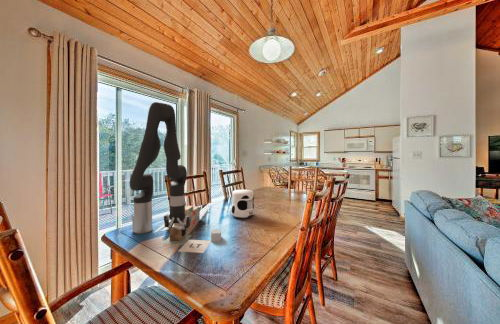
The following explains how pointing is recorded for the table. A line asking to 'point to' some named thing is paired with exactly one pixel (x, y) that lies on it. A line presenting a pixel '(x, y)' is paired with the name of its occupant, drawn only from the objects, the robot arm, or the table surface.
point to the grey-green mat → (176, 241)
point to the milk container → (243, 203)
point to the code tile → (195, 246)
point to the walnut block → (176, 233)
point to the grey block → (215, 235)
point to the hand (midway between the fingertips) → (177, 235)
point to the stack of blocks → (192, 212)
